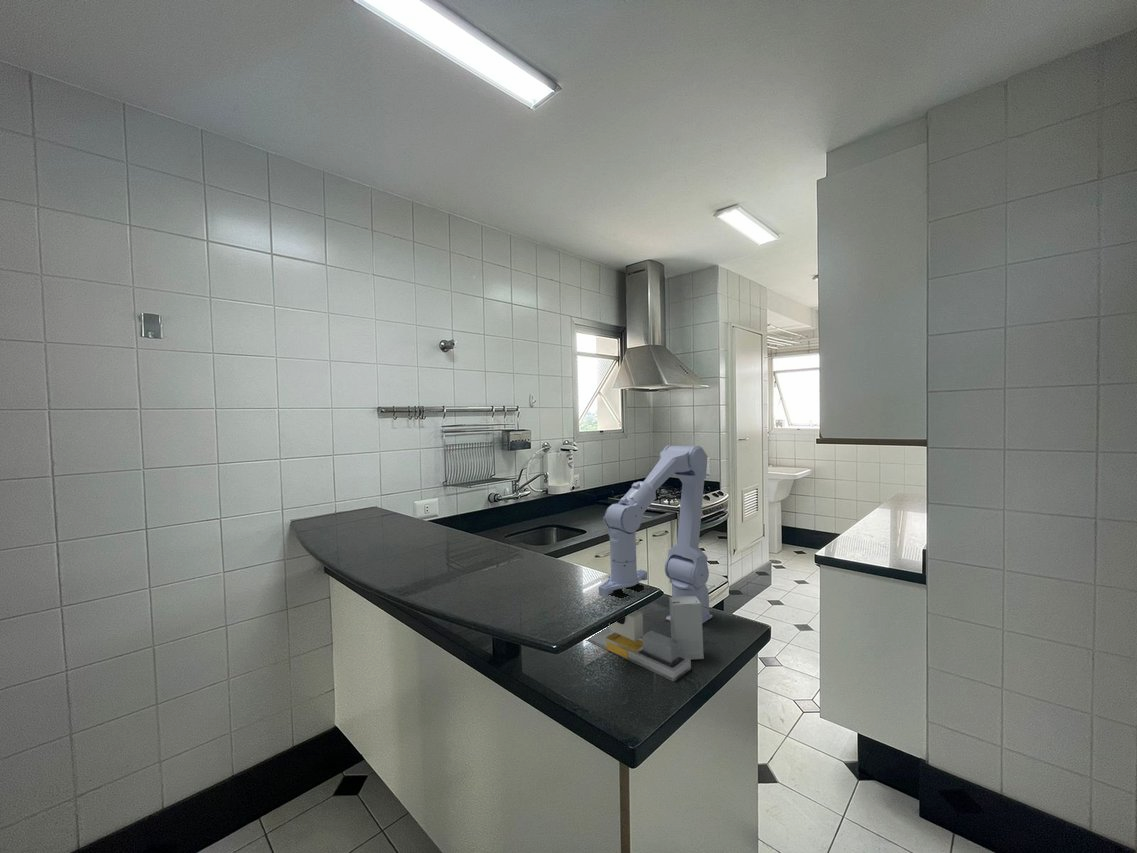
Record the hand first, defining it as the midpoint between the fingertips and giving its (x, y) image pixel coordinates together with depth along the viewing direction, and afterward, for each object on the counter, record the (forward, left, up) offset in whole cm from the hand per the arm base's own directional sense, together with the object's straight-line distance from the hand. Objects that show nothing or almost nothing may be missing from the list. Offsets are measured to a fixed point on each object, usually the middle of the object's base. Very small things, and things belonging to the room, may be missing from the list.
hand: (625, 619), depth 97 cm
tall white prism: (0, 0, -3) cm, 3 cm away
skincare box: (-7, +11, -7) cm, 15 cm away
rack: (0, 0, -7) cm, 7 cm away
